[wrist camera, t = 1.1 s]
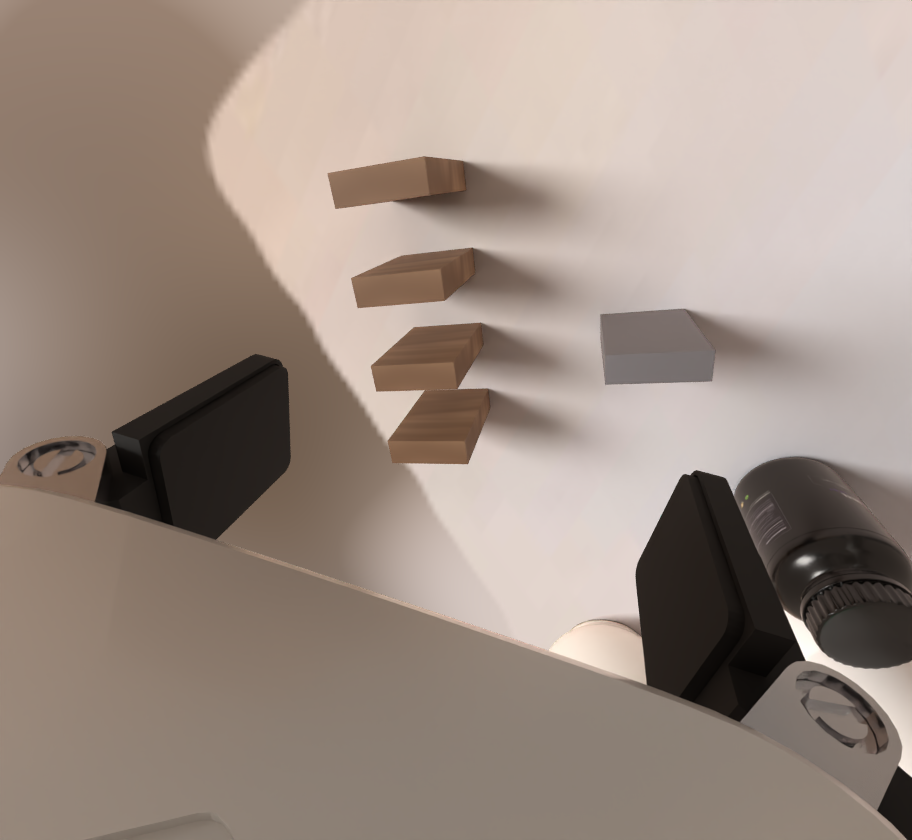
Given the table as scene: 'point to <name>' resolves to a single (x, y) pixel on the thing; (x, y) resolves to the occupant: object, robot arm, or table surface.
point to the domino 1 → (396, 181)
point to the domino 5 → (654, 348)
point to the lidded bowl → (605, 648)
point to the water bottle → (871, 686)
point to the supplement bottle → (830, 561)
